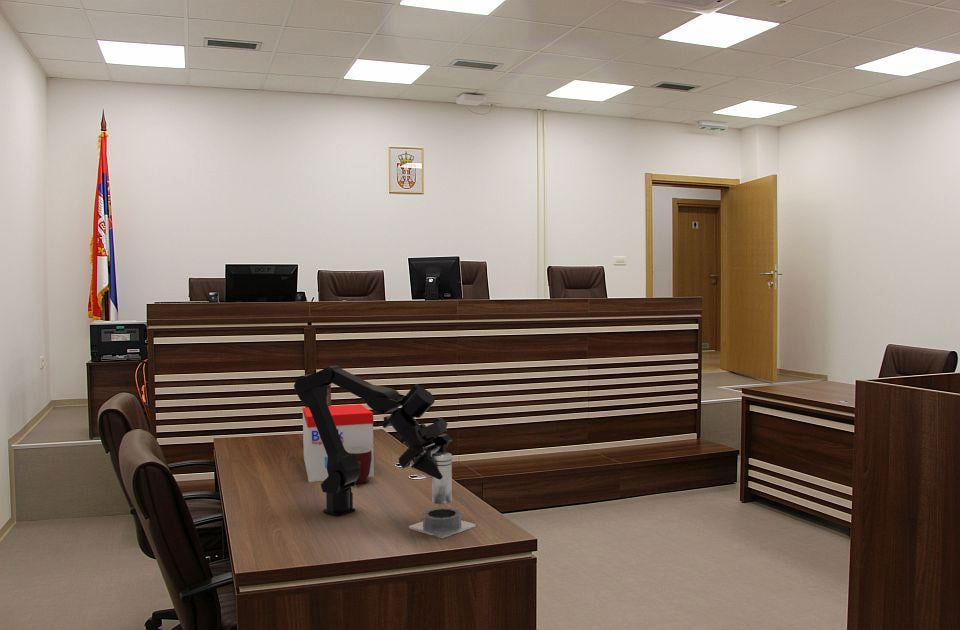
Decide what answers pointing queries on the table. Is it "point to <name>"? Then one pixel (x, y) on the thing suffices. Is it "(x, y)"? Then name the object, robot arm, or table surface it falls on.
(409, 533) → the table surface
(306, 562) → the table surface
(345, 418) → the red-topped cereal carton
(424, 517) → the ring sleeve
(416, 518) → the table surface
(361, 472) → the mug
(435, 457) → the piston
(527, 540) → the table surface
